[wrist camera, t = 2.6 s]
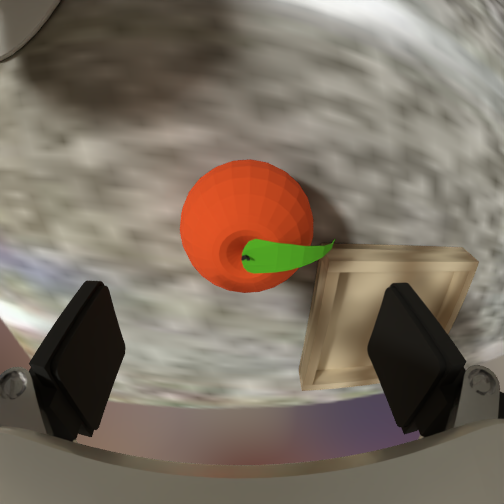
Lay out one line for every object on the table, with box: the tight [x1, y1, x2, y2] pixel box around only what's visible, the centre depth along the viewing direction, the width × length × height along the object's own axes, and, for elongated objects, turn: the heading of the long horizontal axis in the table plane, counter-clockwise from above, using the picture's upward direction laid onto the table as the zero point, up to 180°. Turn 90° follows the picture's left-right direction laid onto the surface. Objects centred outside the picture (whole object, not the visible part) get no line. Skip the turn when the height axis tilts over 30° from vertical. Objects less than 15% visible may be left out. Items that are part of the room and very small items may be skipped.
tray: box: [299, 243, 479, 391], centre depth 22 cm, size 13×13×2 cm
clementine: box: [180, 160, 335, 293], centre depth 15 cm, size 8×7×7 cm
